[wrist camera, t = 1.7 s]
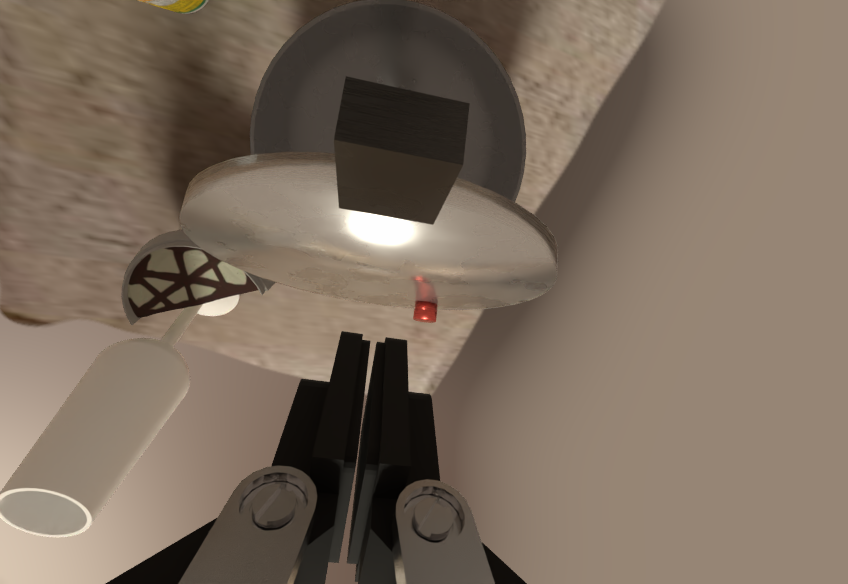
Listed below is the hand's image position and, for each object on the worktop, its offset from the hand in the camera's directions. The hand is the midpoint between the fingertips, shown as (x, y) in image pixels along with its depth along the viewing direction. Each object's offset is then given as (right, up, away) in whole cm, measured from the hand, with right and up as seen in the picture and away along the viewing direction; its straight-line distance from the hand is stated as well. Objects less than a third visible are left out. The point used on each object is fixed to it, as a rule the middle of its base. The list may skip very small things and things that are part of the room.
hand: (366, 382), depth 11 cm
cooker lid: (-1, +5, +11) cm, 12 cm away
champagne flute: (-21, +3, +33) cm, 39 cm away
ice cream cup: (-18, +8, +31) cm, 36 cm away
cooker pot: (-1, +16, +27) cm, 32 cm away
